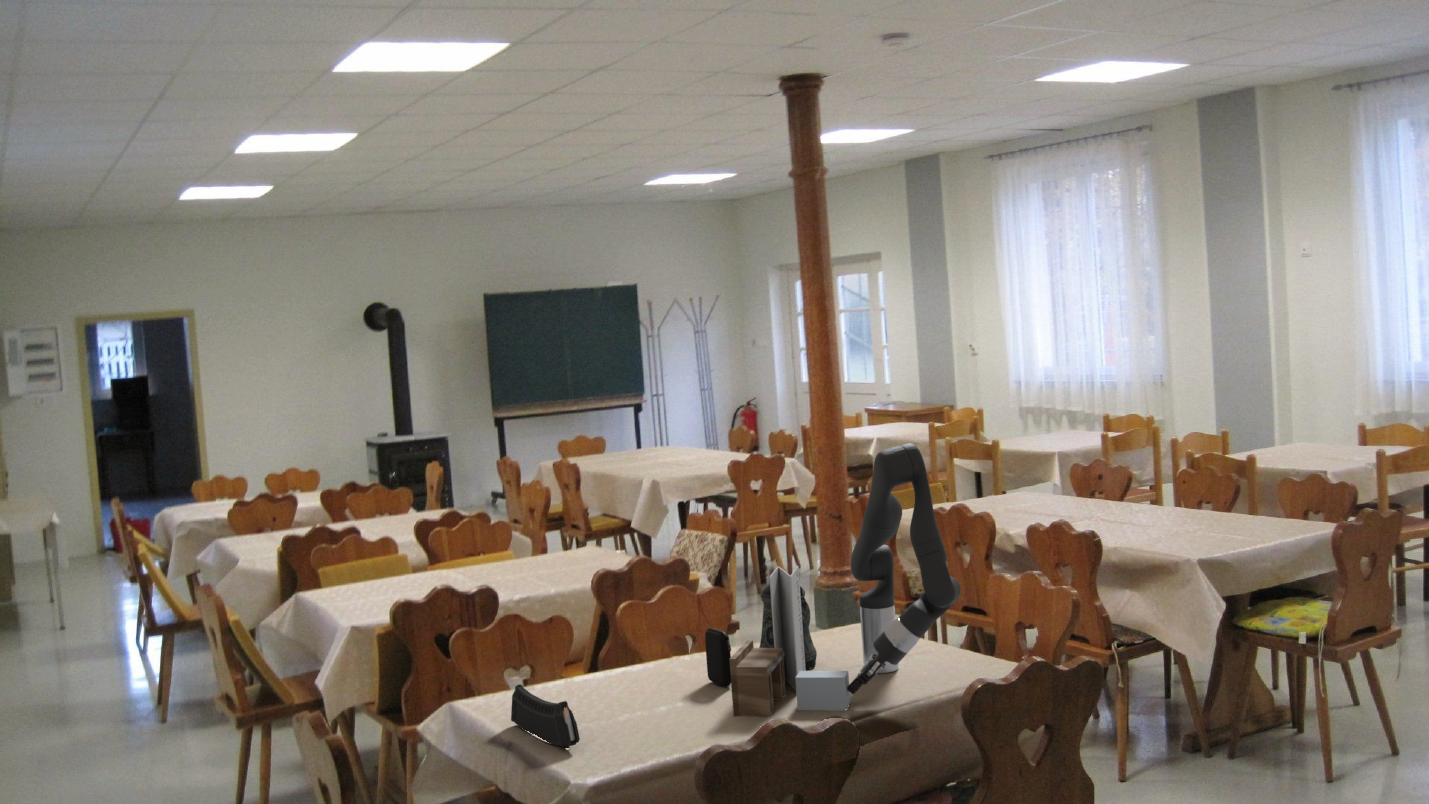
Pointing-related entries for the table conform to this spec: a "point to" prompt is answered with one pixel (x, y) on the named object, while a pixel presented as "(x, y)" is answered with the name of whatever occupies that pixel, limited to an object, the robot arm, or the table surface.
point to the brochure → (788, 621)
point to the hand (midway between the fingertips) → (850, 691)
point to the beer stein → (767, 627)
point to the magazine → (544, 718)
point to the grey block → (822, 690)
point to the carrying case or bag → (718, 657)
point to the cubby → (756, 680)
